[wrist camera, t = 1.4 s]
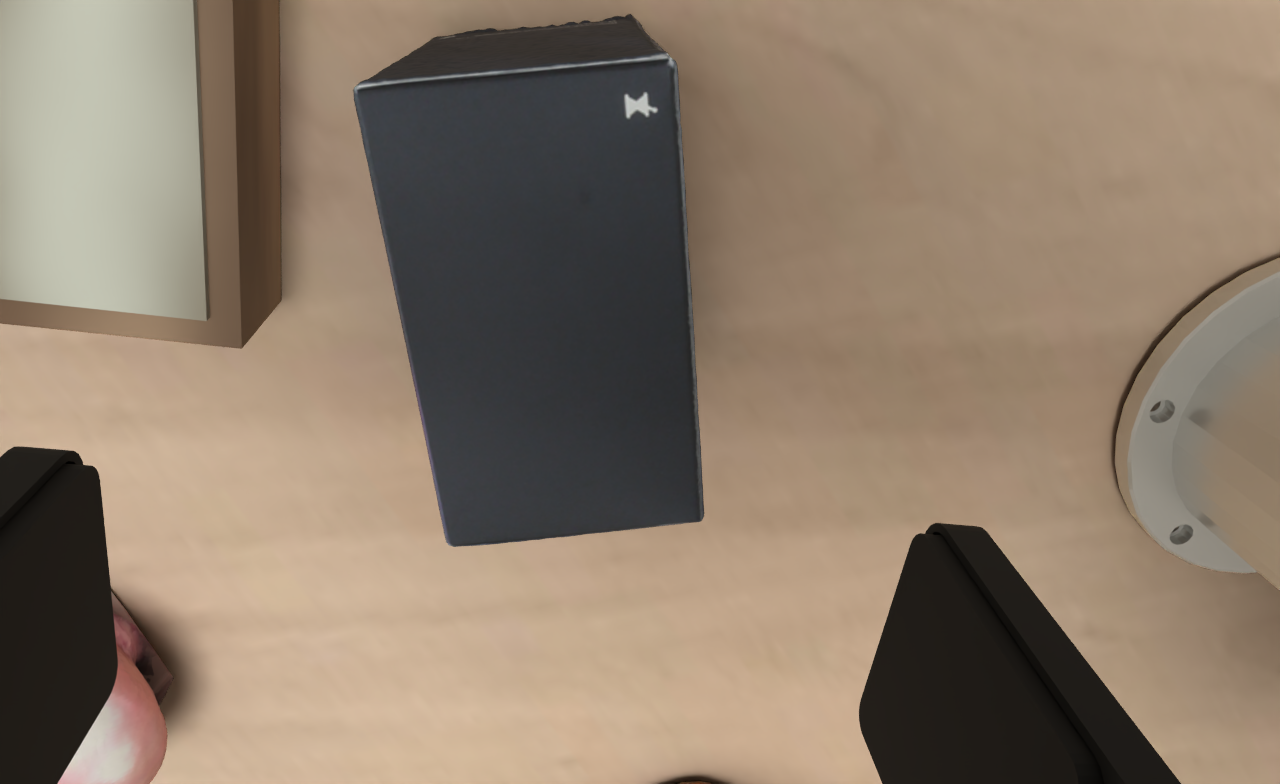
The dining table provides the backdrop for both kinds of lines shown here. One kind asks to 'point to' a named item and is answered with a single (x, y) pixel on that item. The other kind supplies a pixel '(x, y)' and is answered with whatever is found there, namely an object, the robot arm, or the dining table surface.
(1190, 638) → the dining table surface
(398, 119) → the small box
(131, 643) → the onion
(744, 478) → the dining table surface
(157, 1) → the base
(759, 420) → the dining table surface
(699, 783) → the sauce bottle
